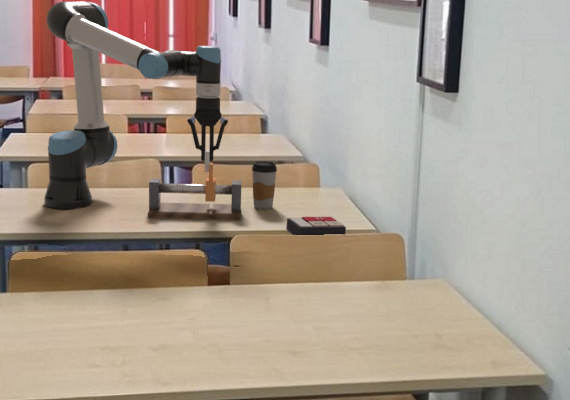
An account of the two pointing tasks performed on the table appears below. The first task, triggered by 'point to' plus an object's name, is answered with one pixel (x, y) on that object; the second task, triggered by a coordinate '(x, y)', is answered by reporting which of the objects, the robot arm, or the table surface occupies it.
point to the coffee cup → (263, 184)
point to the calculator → (314, 226)
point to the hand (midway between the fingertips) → (207, 170)
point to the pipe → (192, 192)
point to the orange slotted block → (210, 186)
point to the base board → (195, 211)
